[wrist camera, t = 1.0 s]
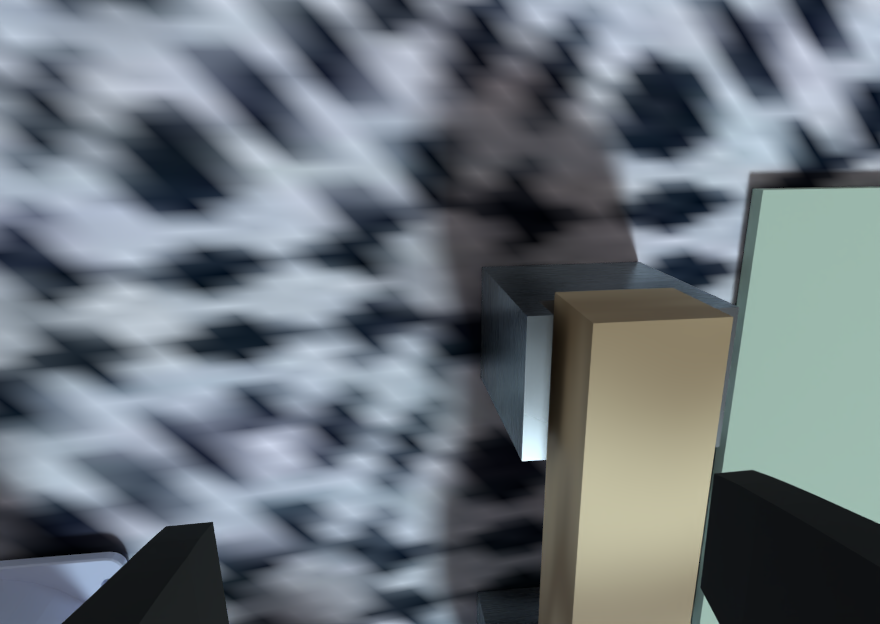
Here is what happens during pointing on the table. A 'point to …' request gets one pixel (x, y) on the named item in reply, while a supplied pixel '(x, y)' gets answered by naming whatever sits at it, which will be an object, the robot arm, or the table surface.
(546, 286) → the cradle stands
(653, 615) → the oak rail
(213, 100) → the table surface
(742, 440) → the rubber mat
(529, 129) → the table surface
